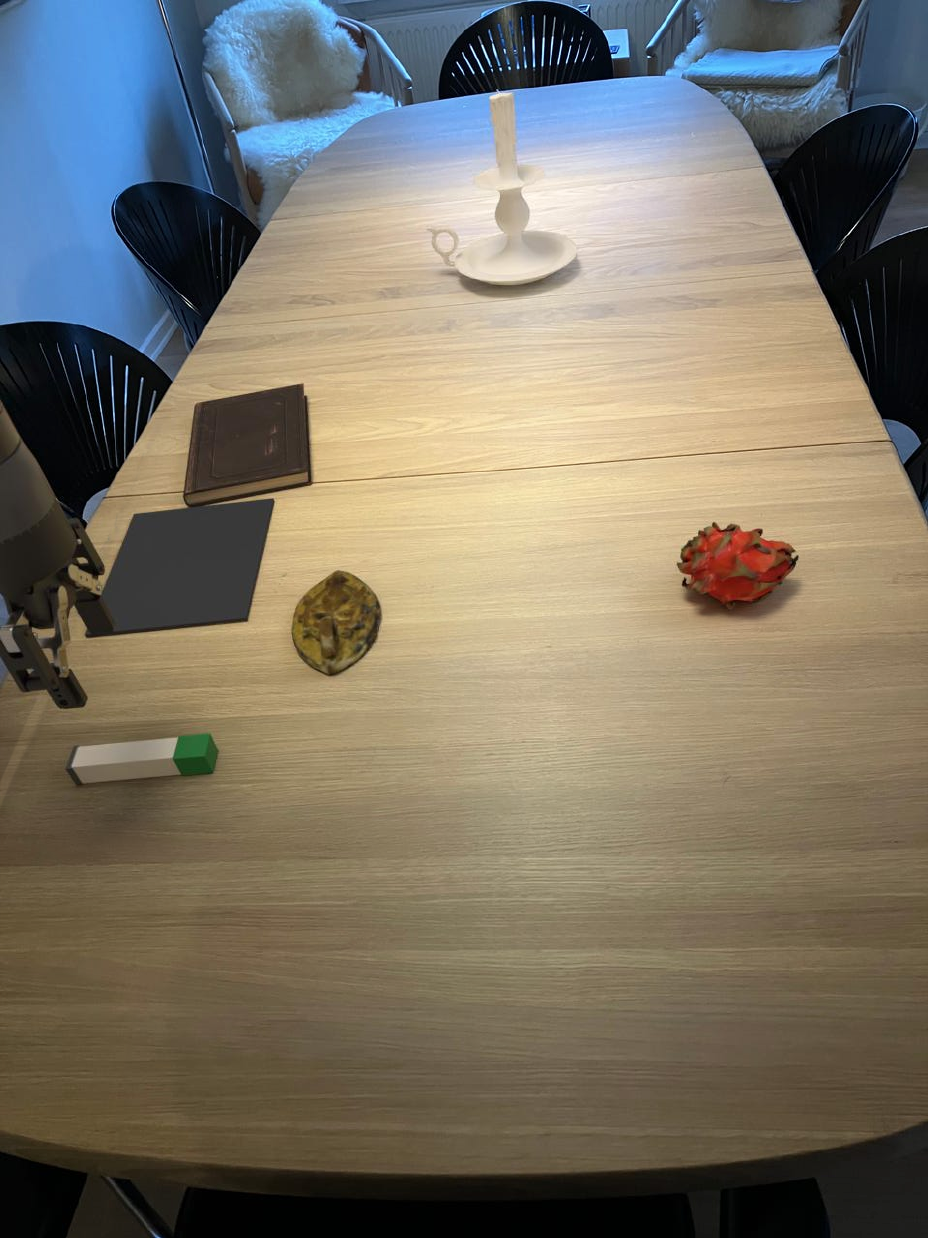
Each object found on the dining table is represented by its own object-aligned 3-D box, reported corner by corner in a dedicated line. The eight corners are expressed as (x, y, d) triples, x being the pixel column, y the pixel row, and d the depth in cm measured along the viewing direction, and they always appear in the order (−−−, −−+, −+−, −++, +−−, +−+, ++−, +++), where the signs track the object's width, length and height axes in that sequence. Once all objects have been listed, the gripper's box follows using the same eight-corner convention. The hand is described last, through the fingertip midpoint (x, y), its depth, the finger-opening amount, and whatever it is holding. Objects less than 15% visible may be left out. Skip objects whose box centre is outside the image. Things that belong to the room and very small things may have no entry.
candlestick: (444, 253, 167) (420, 79, 148) (581, 244, 162) (575, 64, 143) (423, 304, 152) (393, 118, 133) (573, 296, 147) (565, 102, 128)
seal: (299, 592, 103) (294, 688, 92) (284, 560, 100) (276, 655, 89) (379, 572, 102) (384, 666, 91) (366, 539, 99) (369, 632, 88)
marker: (76, 785, 85) (64, 769, 83) (84, 762, 87) (73, 745, 85) (213, 773, 84) (204, 756, 82) (218, 750, 86) (210, 732, 84)
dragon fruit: (664, 602, 96) (779, 606, 96) (684, 612, 87) (810, 615, 87) (669, 519, 94) (785, 523, 95) (689, 521, 86) (817, 525, 86)
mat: (86, 637, 100) (84, 634, 100) (135, 516, 116) (133, 513, 116) (247, 621, 99) (246, 617, 99) (274, 501, 115) (273, 497, 115)
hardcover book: (307, 397, 134) (303, 382, 132) (311, 484, 117) (307, 469, 115) (197, 417, 133) (192, 403, 132) (186, 508, 116) (180, 493, 115)
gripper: (-15, 459, 71) (71, 613, 82) (-94, 579, 60) (18, 737, 71) (79, 448, 70) (153, 604, 81) (16, 567, 60) (111, 728, 71)
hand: (90, 666), depth 76 cm, fingers open, 8 cm apart
